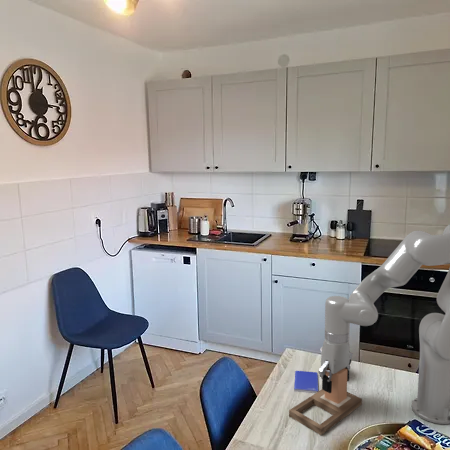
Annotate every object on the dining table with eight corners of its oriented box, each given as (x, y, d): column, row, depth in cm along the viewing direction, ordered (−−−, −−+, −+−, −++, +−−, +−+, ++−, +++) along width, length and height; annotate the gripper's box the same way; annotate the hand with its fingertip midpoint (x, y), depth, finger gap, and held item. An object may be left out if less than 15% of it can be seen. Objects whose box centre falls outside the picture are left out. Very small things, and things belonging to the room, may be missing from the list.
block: (346, 397, 128) (347, 369, 127) (337, 404, 125) (338, 374, 124) (333, 391, 132) (334, 363, 131) (324, 397, 129) (325, 368, 127)
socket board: (361, 404, 128) (362, 398, 128) (321, 435, 114) (321, 428, 114) (330, 389, 137) (330, 383, 137) (289, 416, 123) (289, 409, 123)
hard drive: (318, 390, 135) (317, 372, 147) (294, 388, 136) (295, 370, 148) (318, 395, 135) (317, 376, 147) (294, 392, 137) (295, 374, 149)
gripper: (342, 324, 134) (340, 371, 136) (310, 340, 123) (309, 390, 125) (362, 331, 128) (360, 380, 131) (331, 348, 117) (329, 401, 120)
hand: (335, 385), depth 128 cm, fingers open, 9 cm apart
